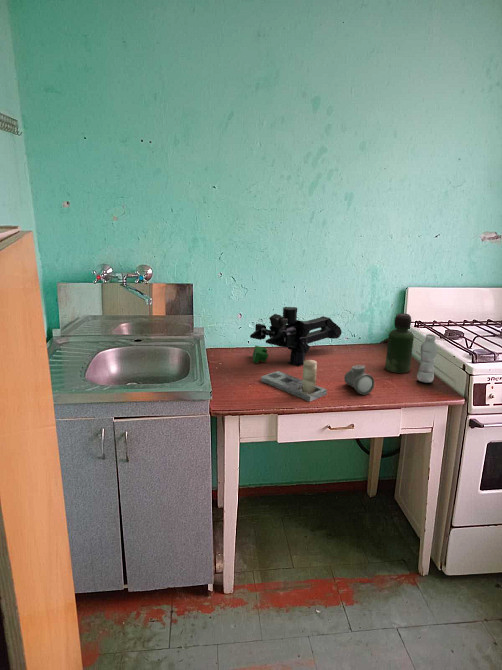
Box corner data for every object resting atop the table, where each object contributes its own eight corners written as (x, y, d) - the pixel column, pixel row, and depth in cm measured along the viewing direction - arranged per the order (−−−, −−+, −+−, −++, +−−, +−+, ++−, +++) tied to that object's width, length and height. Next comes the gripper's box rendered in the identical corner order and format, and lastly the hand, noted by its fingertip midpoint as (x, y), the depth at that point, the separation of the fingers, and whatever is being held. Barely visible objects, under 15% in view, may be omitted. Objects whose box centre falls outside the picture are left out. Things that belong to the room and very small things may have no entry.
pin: (307, 390, 186) (309, 359, 182) (317, 394, 182) (319, 362, 179) (299, 393, 183) (300, 361, 179) (309, 397, 179) (311, 365, 175)
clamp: (263, 371, 216) (268, 358, 211) (251, 368, 216) (256, 355, 210) (264, 354, 225) (269, 341, 220) (252, 352, 224) (257, 339, 219)
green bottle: (395, 375, 203) (401, 318, 196) (380, 366, 213) (386, 312, 205) (414, 372, 207) (421, 316, 200) (399, 364, 216) (405, 311, 209)
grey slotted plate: (277, 375, 200) (278, 370, 200) (326, 394, 182) (327, 389, 182) (260, 381, 194) (261, 376, 193) (309, 401, 176) (310, 396, 175)
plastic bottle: (425, 385, 192) (431, 338, 187) (412, 380, 198) (418, 334, 192) (436, 383, 195) (443, 336, 190) (424, 377, 201) (430, 332, 195)
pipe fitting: (375, 392, 184) (374, 367, 181) (357, 397, 181) (356, 371, 179) (359, 384, 195) (357, 360, 193) (341, 388, 192) (340, 364, 190)
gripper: (269, 309, 208) (243, 315, 198) (301, 318, 195) (275, 324, 185) (268, 334, 211) (242, 340, 201) (300, 344, 198) (274, 351, 188)
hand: (258, 339), depth 194 cm, fingers open, 9 cm apart
